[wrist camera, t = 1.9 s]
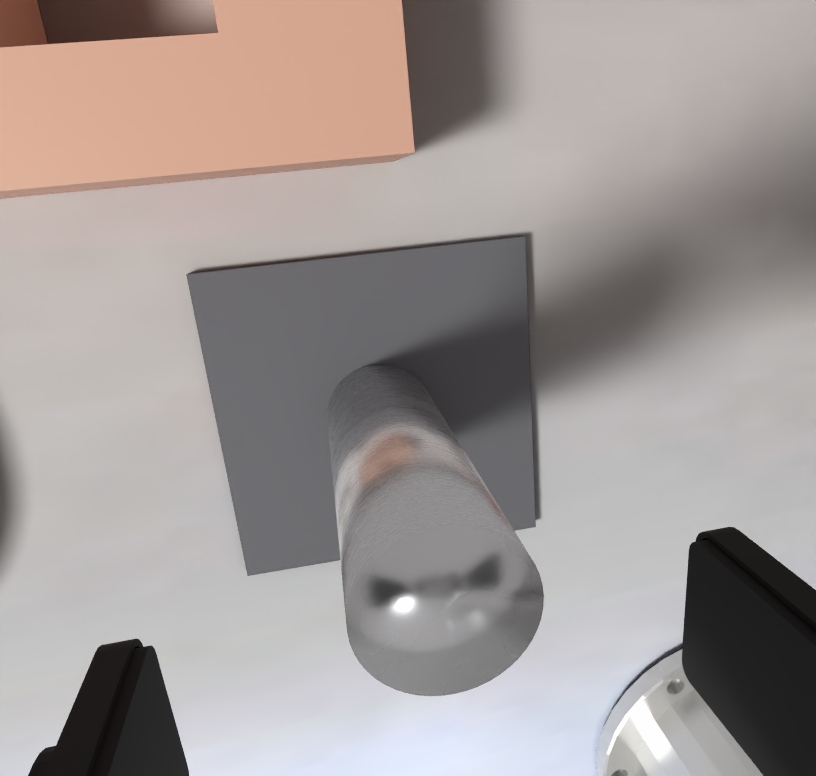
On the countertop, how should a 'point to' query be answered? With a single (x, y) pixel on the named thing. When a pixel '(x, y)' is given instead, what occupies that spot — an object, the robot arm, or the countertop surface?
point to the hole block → (204, 97)
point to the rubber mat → (350, 350)
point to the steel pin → (422, 543)
